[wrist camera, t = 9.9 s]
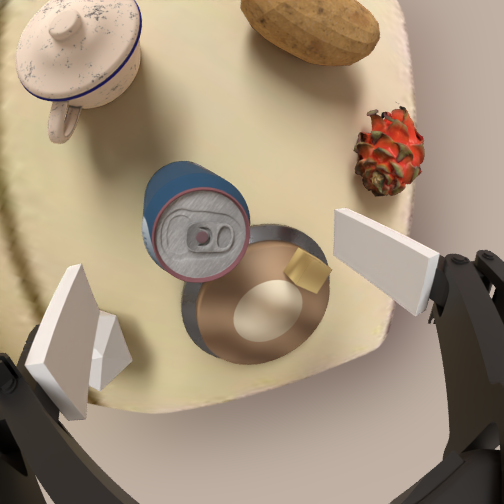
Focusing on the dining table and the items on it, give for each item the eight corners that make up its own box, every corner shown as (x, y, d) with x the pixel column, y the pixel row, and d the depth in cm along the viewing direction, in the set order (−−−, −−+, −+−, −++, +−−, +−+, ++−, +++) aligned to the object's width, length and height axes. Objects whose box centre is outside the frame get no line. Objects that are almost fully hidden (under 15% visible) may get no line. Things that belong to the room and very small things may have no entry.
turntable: (277, 362, 39) (291, 387, 34) (172, 337, 31) (178, 367, 27) (342, 270, 36) (365, 288, 31) (241, 214, 28) (259, 230, 24)
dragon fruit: (337, 189, 34) (362, 110, 33) (397, 215, 32) (418, 135, 31) (347, 174, 25) (374, 79, 24) (423, 208, 24) (443, 111, 23)
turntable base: (199, 373, 36) (200, 376, 35) (164, 244, 27) (164, 246, 27) (323, 333, 41) (325, 335, 40) (329, 210, 33) (331, 212, 32)
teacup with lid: (70, 22, 15) (35, -32, 5) (156, 30, 19) (165, -33, 9) (34, 138, 19) (-31, 145, 9) (119, 147, 22) (96, 155, 12)
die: (118, 282, 28) (50, 310, 19) (159, 352, 28) (103, 399, 19) (83, 309, 30) (25, 336, 21) (118, 369, 30) (68, 407, 21)
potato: (237, -24, 18) (266, -61, 11) (347, 21, 24) (393, 5, 17) (214, 46, 21) (240, 16, 14) (336, 86, 27) (386, 80, 20)
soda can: (143, 229, 26) (141, 292, 16) (147, 158, 24) (144, 173, 13) (211, 231, 29) (251, 290, 18) (219, 163, 26) (269, 182, 16)
